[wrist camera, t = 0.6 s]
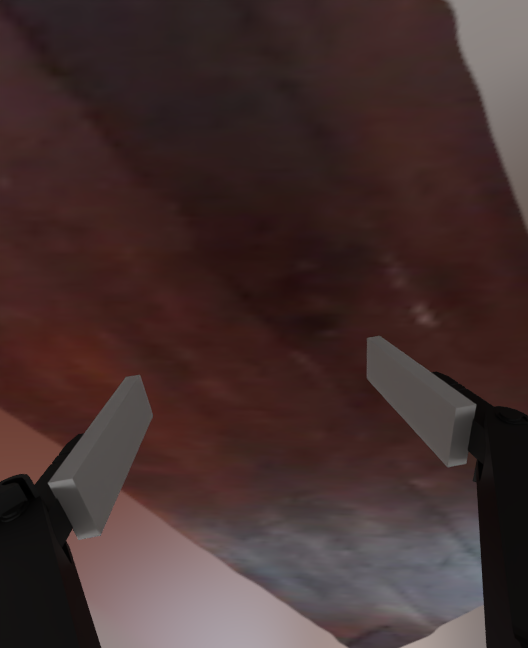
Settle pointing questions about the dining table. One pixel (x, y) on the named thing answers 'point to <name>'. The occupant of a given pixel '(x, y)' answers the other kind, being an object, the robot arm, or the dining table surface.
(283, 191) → the dining table surface
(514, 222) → the dining table surface
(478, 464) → the robot arm
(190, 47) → the dining table surface
